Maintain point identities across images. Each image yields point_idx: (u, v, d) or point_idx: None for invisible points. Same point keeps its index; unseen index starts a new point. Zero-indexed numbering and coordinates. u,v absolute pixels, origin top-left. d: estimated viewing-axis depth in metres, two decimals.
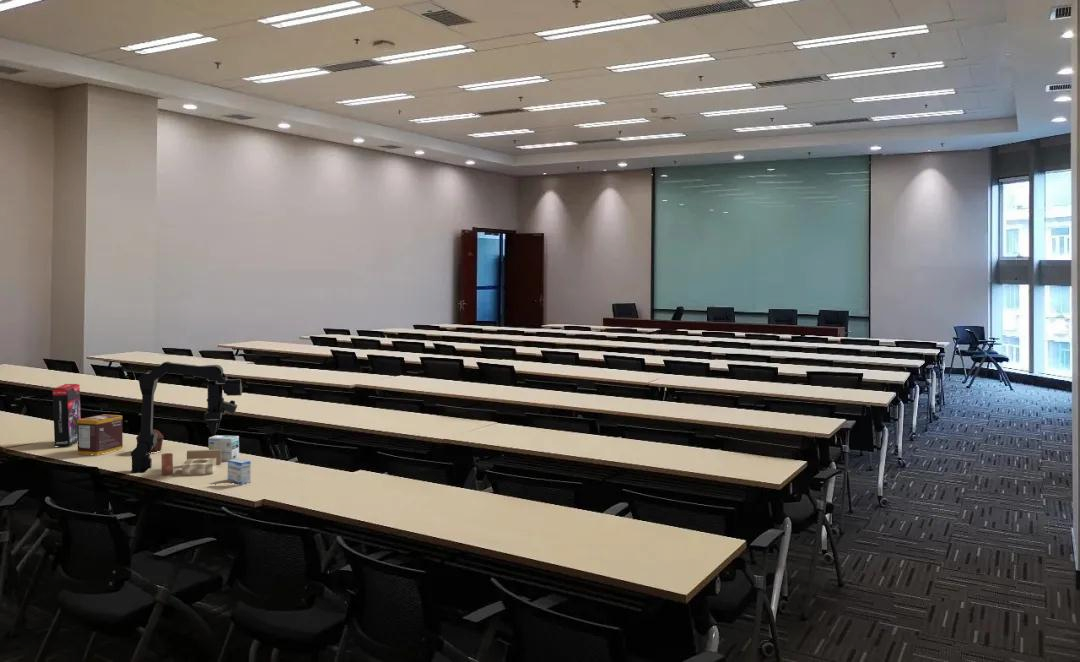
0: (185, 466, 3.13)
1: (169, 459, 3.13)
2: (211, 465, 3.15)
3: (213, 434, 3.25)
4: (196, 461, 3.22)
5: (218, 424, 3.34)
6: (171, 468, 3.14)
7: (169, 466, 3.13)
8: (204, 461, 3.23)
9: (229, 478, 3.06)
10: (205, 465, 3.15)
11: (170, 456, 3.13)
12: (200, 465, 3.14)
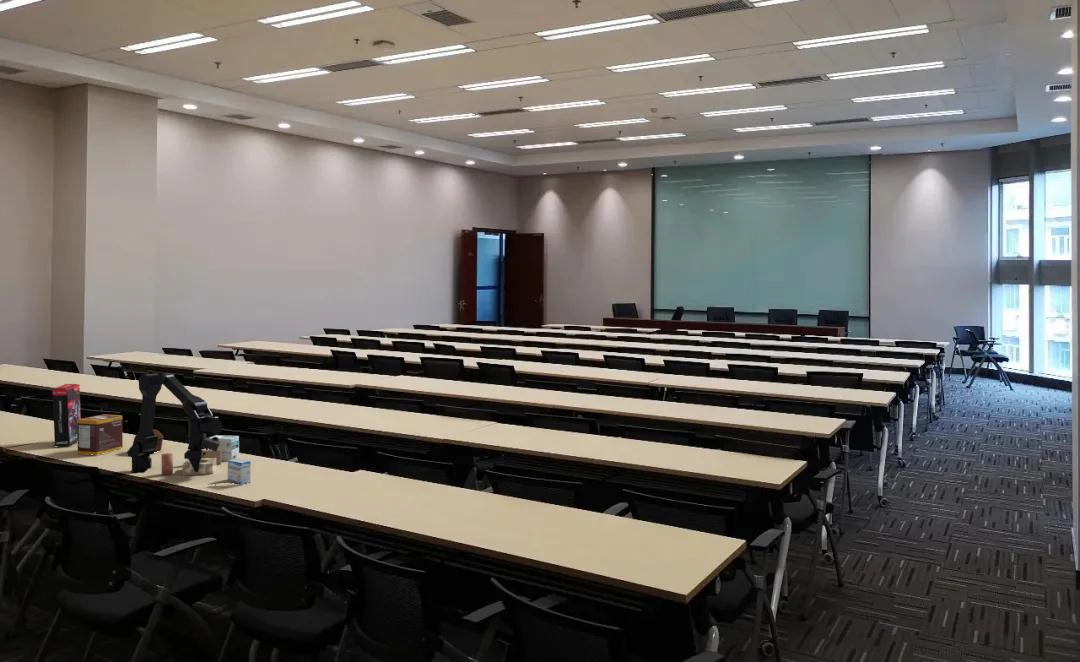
0: (185, 466, 3.13)
1: (169, 459, 3.13)
2: (211, 465, 3.16)
3: (196, 471, 3.13)
4: None
5: None
6: (171, 468, 3.14)
7: (169, 466, 3.13)
8: (204, 461, 3.23)
9: (229, 478, 3.06)
10: (205, 465, 3.15)
11: (170, 456, 3.13)
12: (200, 465, 3.15)
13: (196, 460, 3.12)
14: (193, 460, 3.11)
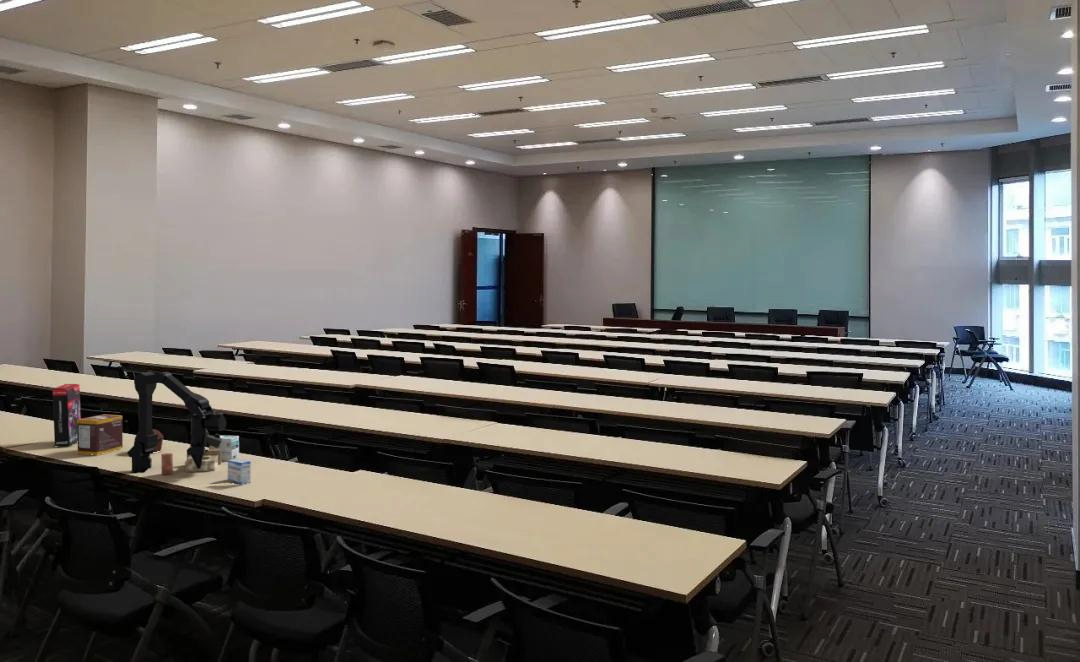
0: (188, 463, 3.19)
1: (169, 459, 3.13)
2: (213, 462, 3.21)
3: (198, 467, 3.18)
4: None
5: None
6: (171, 468, 3.14)
7: (169, 466, 3.13)
8: (206, 458, 3.28)
9: (229, 478, 3.06)
10: (207, 462, 3.21)
11: (170, 456, 3.13)
12: (202, 462, 3.20)
13: (198, 457, 3.17)
14: (195, 457, 3.17)
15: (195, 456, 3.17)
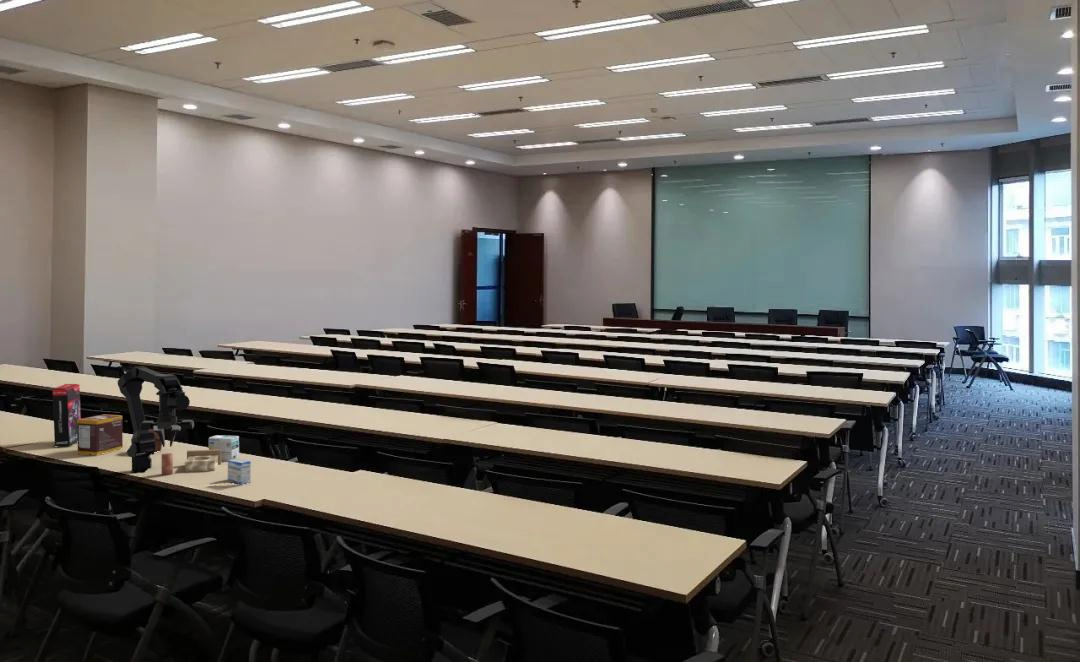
0: (188, 463, 3.19)
1: (169, 459, 3.13)
2: (213, 462, 3.21)
3: None
4: (198, 458, 3.28)
5: (170, 439, 3.13)
6: (171, 468, 3.14)
7: (169, 466, 3.13)
8: (206, 458, 3.28)
9: (229, 478, 3.06)
10: (207, 462, 3.21)
11: (170, 456, 3.13)
12: (202, 462, 3.20)
13: None
14: None
15: None
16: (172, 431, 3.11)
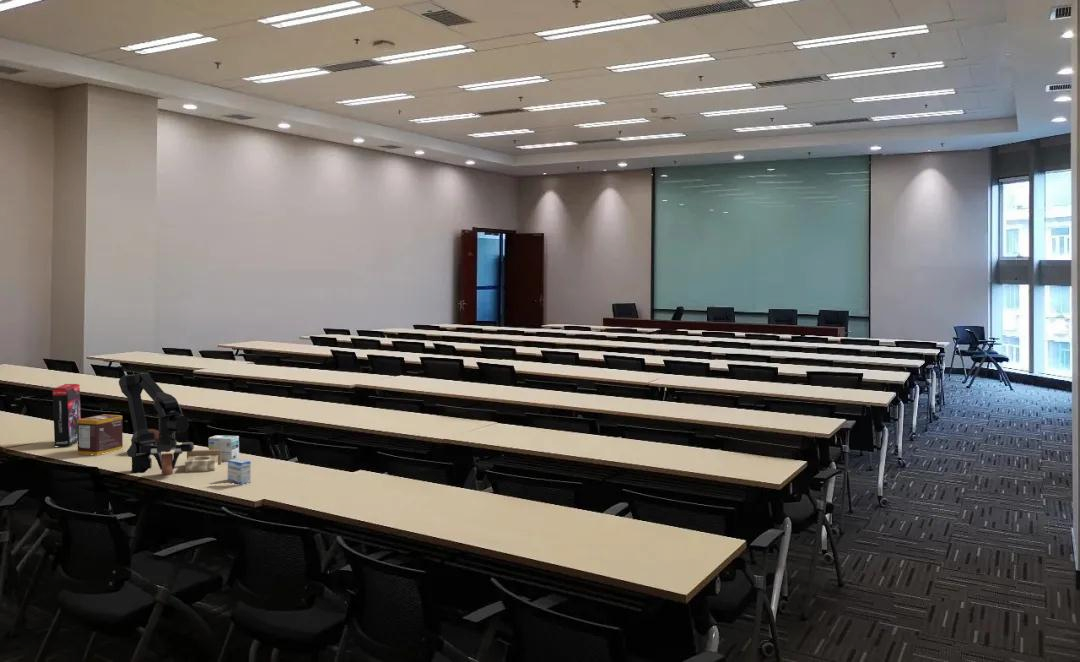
0: (188, 463, 3.19)
1: (169, 459, 3.13)
2: (213, 462, 3.21)
3: None
4: (198, 458, 3.28)
5: None
6: (171, 468, 3.14)
7: (169, 466, 3.13)
8: (206, 458, 3.28)
9: (229, 478, 3.06)
10: (207, 462, 3.21)
11: (170, 456, 3.13)
12: (202, 462, 3.20)
13: None
14: None
15: None
16: (174, 453, 3.12)
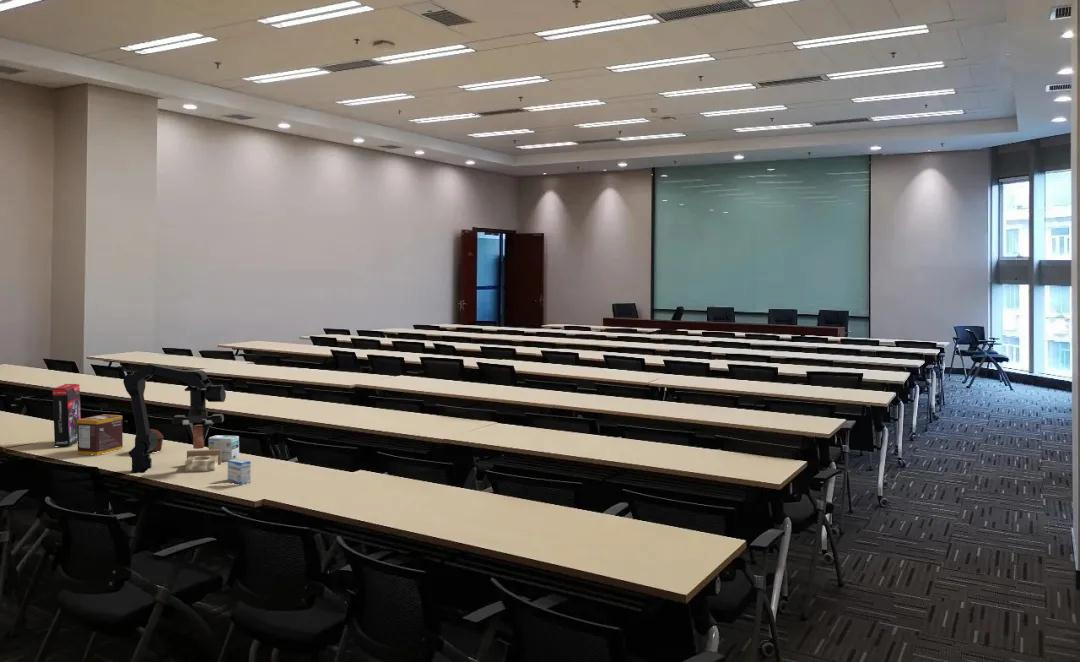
0: (188, 463, 3.19)
1: (200, 430, 3.22)
2: (213, 462, 3.21)
3: None
4: (198, 458, 3.28)
5: None
6: (202, 439, 3.23)
7: (200, 437, 3.22)
8: (206, 458, 3.28)
9: (229, 478, 3.06)
10: (207, 462, 3.21)
11: (201, 427, 3.22)
12: (202, 462, 3.20)
13: None
14: None
15: None
16: (205, 425, 3.21)
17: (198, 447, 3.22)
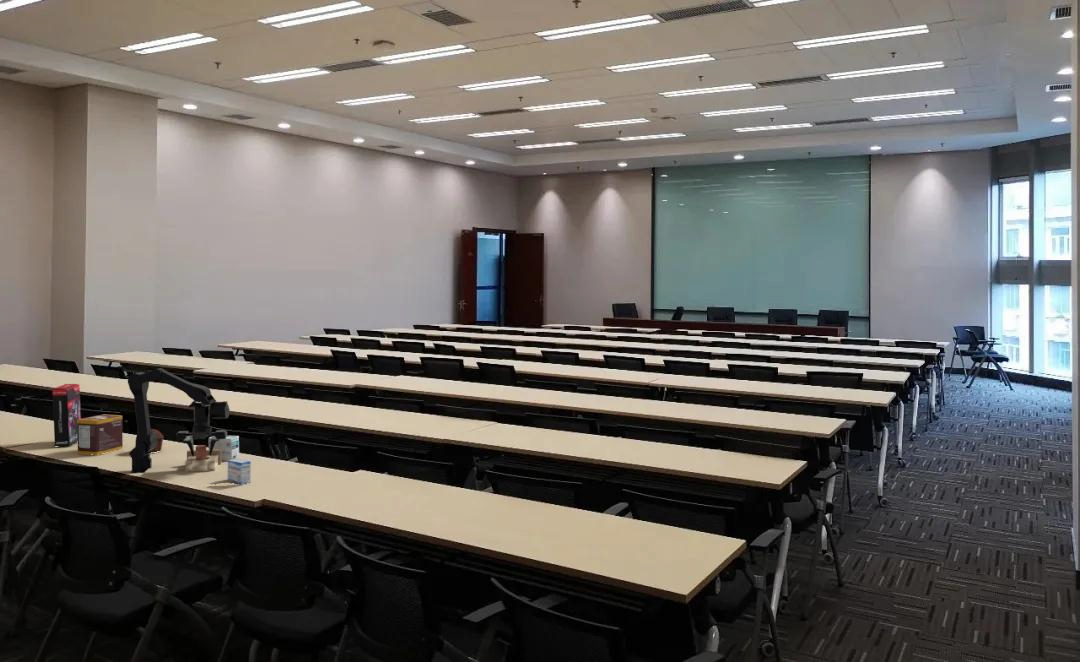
0: (188, 463, 3.19)
1: (203, 451, 3.24)
2: (213, 462, 3.21)
3: (192, 455, 3.24)
4: None
5: None
6: (205, 459, 3.25)
7: (203, 457, 3.24)
8: None
9: (229, 478, 3.06)
10: (207, 462, 3.21)
11: (204, 448, 3.24)
12: (202, 462, 3.20)
13: None
14: None
15: None
16: (212, 441, 3.23)
17: None
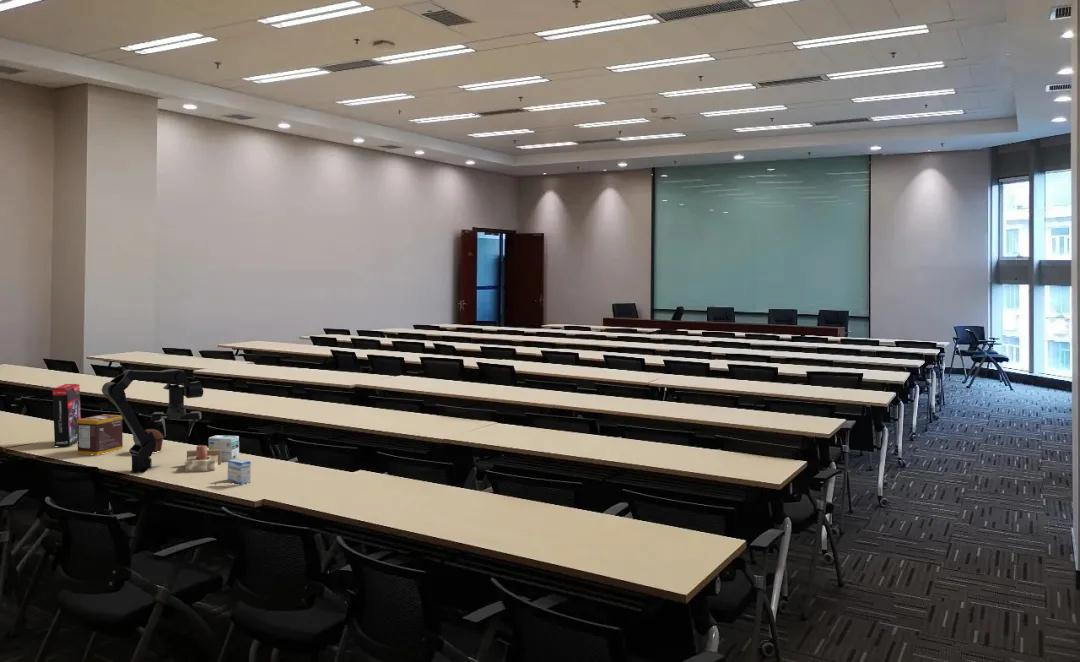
0: (188, 463, 3.19)
1: (204, 451, 3.24)
2: (213, 462, 3.21)
3: None
4: None
5: (188, 429, 3.34)
6: None
7: (204, 457, 3.24)
8: None
9: (229, 478, 3.06)
10: (207, 462, 3.21)
11: (205, 448, 3.24)
12: (202, 462, 3.20)
13: None
14: None
15: None
16: (190, 421, 3.32)
17: None
